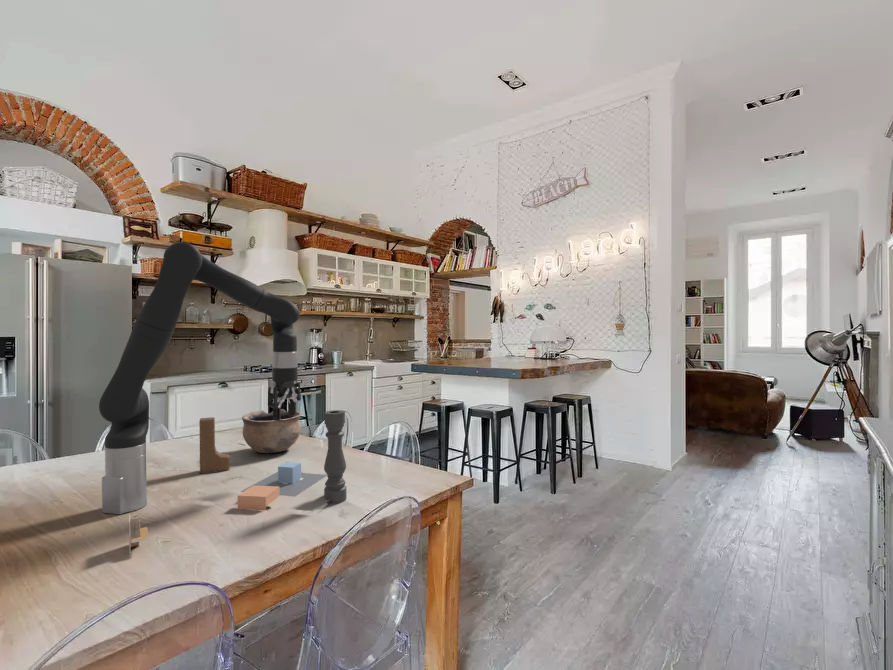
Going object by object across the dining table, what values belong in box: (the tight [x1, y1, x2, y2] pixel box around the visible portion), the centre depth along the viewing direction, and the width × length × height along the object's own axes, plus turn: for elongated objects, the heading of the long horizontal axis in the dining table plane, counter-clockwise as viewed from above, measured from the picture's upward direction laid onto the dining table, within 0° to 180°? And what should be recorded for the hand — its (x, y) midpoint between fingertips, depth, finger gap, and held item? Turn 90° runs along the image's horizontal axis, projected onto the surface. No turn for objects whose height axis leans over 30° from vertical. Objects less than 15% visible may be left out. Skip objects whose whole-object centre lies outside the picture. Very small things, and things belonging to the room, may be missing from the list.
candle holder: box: [323, 409, 347, 505], centre depth 133 cm, size 6×6×25 cm
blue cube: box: [277, 461, 302, 484], centre depth 146 cm, size 5×5×5 cm
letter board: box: [240, 471, 328, 497], centre depth 144 cm, size 20×18×1 cm
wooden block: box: [199, 417, 231, 474], centre depth 160 cm, size 9×4×18 cm, turn 115°
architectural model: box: [128, 513, 149, 555], centre depth 104 cm, size 3×7×7 cm, turn 34°
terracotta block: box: [237, 485, 281, 511], centre depth 130 cm, size 8×8×4 cm
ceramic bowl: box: [241, 408, 302, 454], centre depth 185 cm, size 22×22×15 cm
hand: (284, 417), depth 146 cm, fingers open, 8 cm apart
